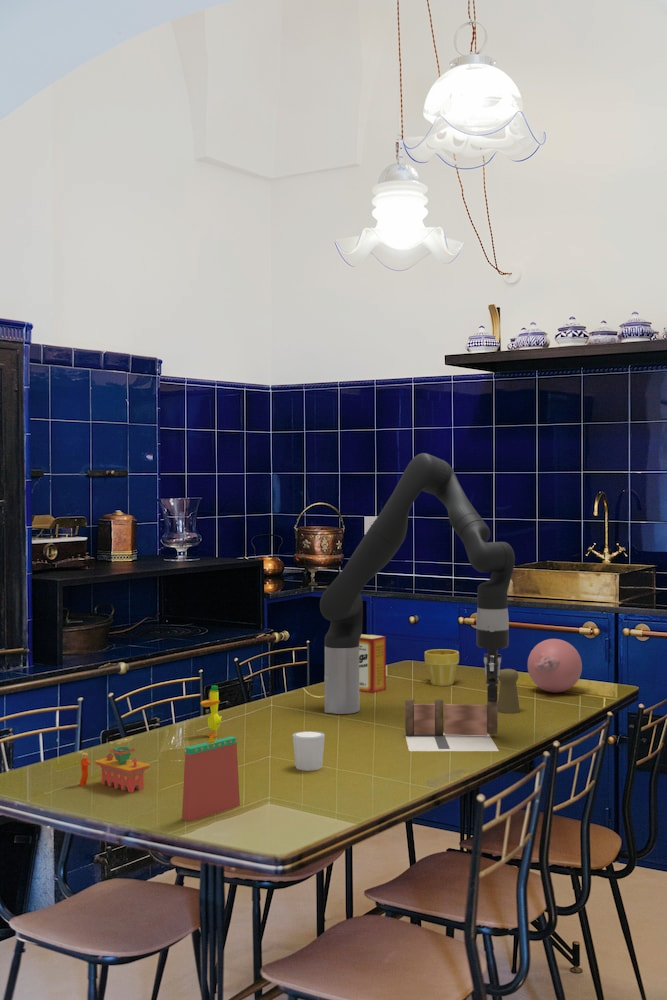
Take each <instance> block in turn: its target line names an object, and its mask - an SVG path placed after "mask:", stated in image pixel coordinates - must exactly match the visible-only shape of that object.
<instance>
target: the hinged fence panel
mask: <svg viewBox="0 0 667 1000" xmlns="http://www.w3.org/2000/svg"><path fill="white" fill-rule="evenodd" d="M489 679H495V677H489ZM486 689H487V691H486V698H487V699H486V704H469V703H468V704H467V703H466V704H465V703H464V704H461V703H460V704H459V703H458V704H457V703H456V704H455V703H444V733H445V735H484V736H487V734H489V735H490V736H491V735H492V736H494V735H498V734H499V733H498V721H499V720H498V713H499V712H498V698H499V694H498V695H497V702H489V701H488V686H487V685H486Z"/></svg>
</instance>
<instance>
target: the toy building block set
mask: <svg viewBox="0 0 667 1000" xmlns="http://www.w3.org/2000/svg"><path fill="white" fill-rule="evenodd" d="M237 739H238V738H237V737H236V736H227V737H222V738H218V739H215V738H214V737H212V736H210V737H209V738H208V739H207V741H206V740H205V741H203V742H201V743H198V744H193V745H190V746H185V747H184V749H185V752H184V765H183V767H184V770H183V791H182V793H183V794H182V809H181V812H182V813H181V820H184V821H186V822H192V821H195V820H198V819H202V818H204V817H208V816H211V815H214V814H217V813H221V812H224V811H227V810H230V809H234V808H236V807H239V806H241V801H240V784H239V783H240V782H239V780H240V779H239V764H238V745H237V744H238V742H237ZM108 751H109V753H108V754H107V755H106V757H104V758H101V759H97V760H93V762H94V763H95V764H96V765H98V766H100V769H101V785H103V786H106V785H107V787H110V788H111V787H114V789H121V791H127V792H128V793H133V792H135V788H136V789H137V790H139V791H141V790H144V774H145V773H144V772H145V771H146V770H148V769H149V768H150V767H151V766H152V764H149V763H145V762H142V761H140V760H138V758H137V757H133V758H132V759H130V757H131V755H132V753H134V752H135V751H136V749H134V748H132V747H129V746H124V745H123V746H118V747H115V748H114V747H113V748H112V749H109V750H108ZM112 753H113V754H112ZM80 757H81V758H80V759H81V760H80V766H81V767H80V768H81V778H80V780H79V781H80V782H79V784H78V785H79V786H83V787H84V786H87V781H88V779H89V778H88V777H89V766H90V765H91V760H89V754H88V753H87V752H82V753H81V755H80Z"/></svg>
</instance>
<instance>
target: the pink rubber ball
mask: <svg viewBox="0 0 667 1000" xmlns="http://www.w3.org/2000/svg"><path fill="white" fill-rule="evenodd" d="M582 663H583V661H582V658H581V655H580V654H579V651H578V650H577V649H576V648H575V647H574V645H572V644H571V643H569V642H568V641H565V640H563V639H558V638H548V639H545V640H542V641H541V642H539V643H537V644H536V645H535V646H534V647H533V649H532V650H530V653H529V656H528V658H527V672H528V674H529V677H530V679H531V681H532V682H533V683H534V685H535V686H536V687H537V688H539V689H541V690H543V691H545V692H547V693H552V694H553V693H555V694H557V693H558V694H559V693H562V692H565V691H568V690H570V689H572V688H573V687H574V686H575V685H577V684H576V683H578V682H579V679H580V677H581V674H582V671H583V664H582Z"/></svg>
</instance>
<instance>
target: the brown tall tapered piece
mask: <svg viewBox="0 0 667 1000" xmlns="http://www.w3.org/2000/svg"><path fill="white" fill-rule="evenodd" d="M498 679H499V682H500V683H499V691H498V713H501V714H502V713H503V714H518V713H520V711H521V710H520V703H519V702H520V701H519V694H518V687H517V685H518V684H517V681H518V680H519V674H518V671H517V670H515V669H512V668H504V669H500V675H499V677H498Z"/></svg>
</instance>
